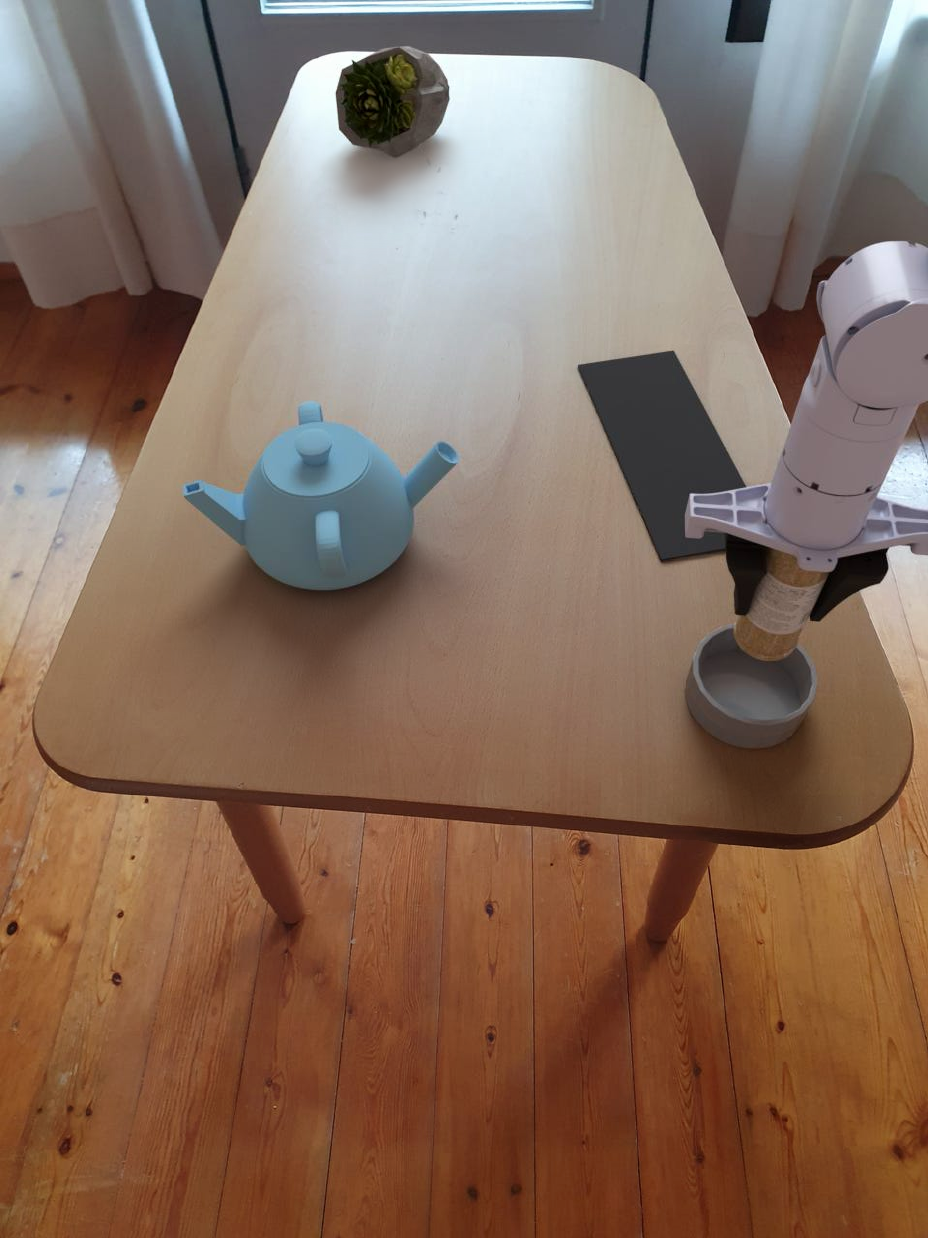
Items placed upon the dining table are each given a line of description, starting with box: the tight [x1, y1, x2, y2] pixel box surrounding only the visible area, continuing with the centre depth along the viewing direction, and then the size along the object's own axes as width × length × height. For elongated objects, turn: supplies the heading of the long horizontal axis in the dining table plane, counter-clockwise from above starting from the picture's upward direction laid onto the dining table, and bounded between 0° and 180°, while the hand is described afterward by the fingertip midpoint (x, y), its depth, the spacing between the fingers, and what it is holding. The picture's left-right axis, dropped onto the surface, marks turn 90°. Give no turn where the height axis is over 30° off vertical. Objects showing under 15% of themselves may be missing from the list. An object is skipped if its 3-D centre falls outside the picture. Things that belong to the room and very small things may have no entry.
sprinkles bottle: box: [733, 547, 829, 661], centre depth 61 cm, size 5×5×14 cm
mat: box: [577, 350, 747, 562], centre depth 87 cm, size 26×10×1 cm, turn 11°
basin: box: [684, 623, 819, 750], centre depth 70 cm, size 9×9×4 cm
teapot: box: [181, 400, 460, 591], centre depth 77 cm, size 15×17×11 cm
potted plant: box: [334, 45, 451, 159], centre depth 116 cm, size 12×13×15 cm
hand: (776, 606), depth 64 cm, fingers closed on sprinkles bottle, 4 cm apart
